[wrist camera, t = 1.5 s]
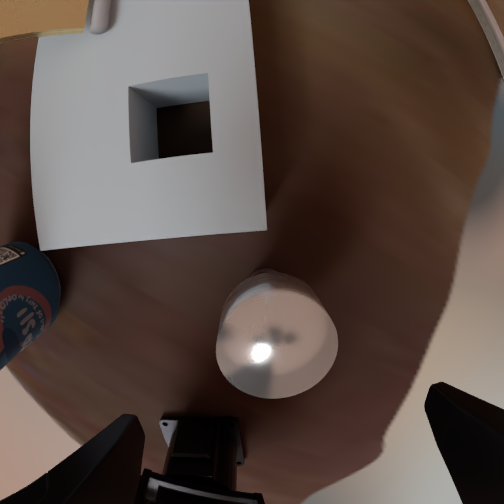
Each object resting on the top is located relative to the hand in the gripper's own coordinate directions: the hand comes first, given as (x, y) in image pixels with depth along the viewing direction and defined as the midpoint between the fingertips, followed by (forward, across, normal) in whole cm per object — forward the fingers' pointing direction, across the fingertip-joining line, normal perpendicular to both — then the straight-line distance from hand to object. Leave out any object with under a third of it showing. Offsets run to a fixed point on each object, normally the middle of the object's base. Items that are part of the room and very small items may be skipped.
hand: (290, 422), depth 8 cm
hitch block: (+12, +6, -12) cm, 19 cm away
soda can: (+12, +18, -1) cm, 22 cm away
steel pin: (+12, 0, 0) cm, 12 cm away
